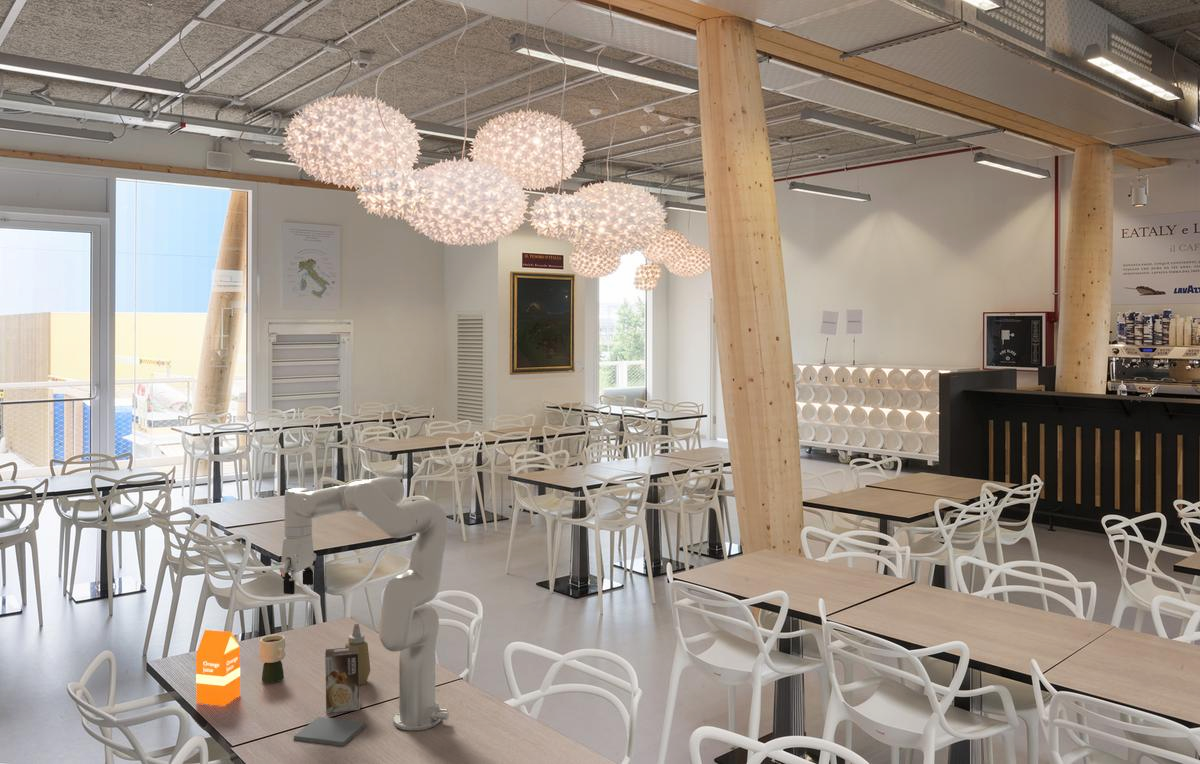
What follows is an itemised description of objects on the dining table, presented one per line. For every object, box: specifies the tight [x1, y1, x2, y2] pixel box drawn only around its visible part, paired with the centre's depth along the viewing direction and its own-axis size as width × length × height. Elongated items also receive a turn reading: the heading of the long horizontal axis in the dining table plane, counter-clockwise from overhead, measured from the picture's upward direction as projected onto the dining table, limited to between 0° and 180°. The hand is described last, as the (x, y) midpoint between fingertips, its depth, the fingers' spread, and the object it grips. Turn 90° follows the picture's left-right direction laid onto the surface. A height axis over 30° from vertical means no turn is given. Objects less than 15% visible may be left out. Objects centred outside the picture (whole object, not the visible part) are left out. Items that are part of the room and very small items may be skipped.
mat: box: [293, 716, 367, 747], centre depth 229 cm, size 14×12×1 cm
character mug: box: [259, 634, 286, 684], centre depth 263 cm, size 11×7×13 cm, turn 52°
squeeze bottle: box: [344, 622, 371, 686], centre depth 262 cm, size 8×8×18 cm
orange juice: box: [195, 629, 241, 707], centre depth 248 cm, size 8×9×20 cm
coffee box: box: [324, 647, 361, 713], centre depth 244 cm, size 9×6×16 cm
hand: (298, 589), depth 254 cm, fingers open, 9 cm apart
